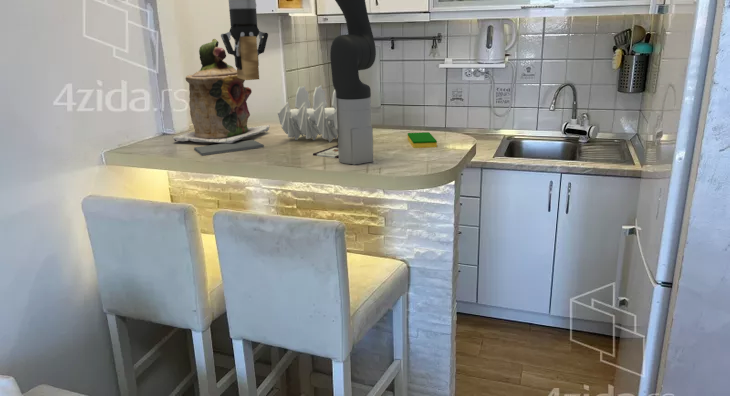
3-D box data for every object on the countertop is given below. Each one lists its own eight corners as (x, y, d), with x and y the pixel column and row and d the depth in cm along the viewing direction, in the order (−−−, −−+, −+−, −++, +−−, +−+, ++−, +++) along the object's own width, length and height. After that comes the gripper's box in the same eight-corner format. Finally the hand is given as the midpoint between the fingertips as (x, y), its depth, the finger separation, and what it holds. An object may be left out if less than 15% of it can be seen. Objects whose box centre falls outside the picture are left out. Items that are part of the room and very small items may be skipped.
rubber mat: (263, 147, 170) (263, 144, 170) (202, 155, 161) (202, 153, 161) (253, 142, 178) (253, 139, 178) (194, 149, 169) (194, 147, 169)
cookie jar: (169, 142, 179) (155, 40, 170) (212, 129, 202) (202, 39, 192) (235, 144, 171) (224, 37, 162) (272, 130, 194) (264, 36, 185)
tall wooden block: (250, 76, 166) (247, 35, 163) (259, 79, 160) (256, 36, 156) (237, 77, 165) (234, 36, 161) (246, 80, 158) (242, 36, 154)
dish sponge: (429, 139, 177) (429, 132, 177) (436, 148, 164) (437, 140, 164) (407, 140, 177) (407, 132, 176) (413, 149, 164) (413, 141, 163)
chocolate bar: (371, 144, 168) (338, 156, 153) (371, 147, 168) (339, 160, 154) (347, 141, 173) (312, 153, 158) (347, 144, 173) (313, 156, 158)
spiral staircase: (296, 148, 186) (366, 147, 179) (273, 135, 170) (349, 133, 162) (300, 96, 189) (369, 93, 181) (277, 78, 172) (353, 74, 165)
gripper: (262, 7, 162) (265, 66, 168) (214, 7, 156) (219, 69, 161) (271, 7, 156) (274, 68, 162) (221, 7, 150) (227, 71, 155)
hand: (247, 68), depth 161 cm, fingers closed on tall wooden block, 4 cm apart
